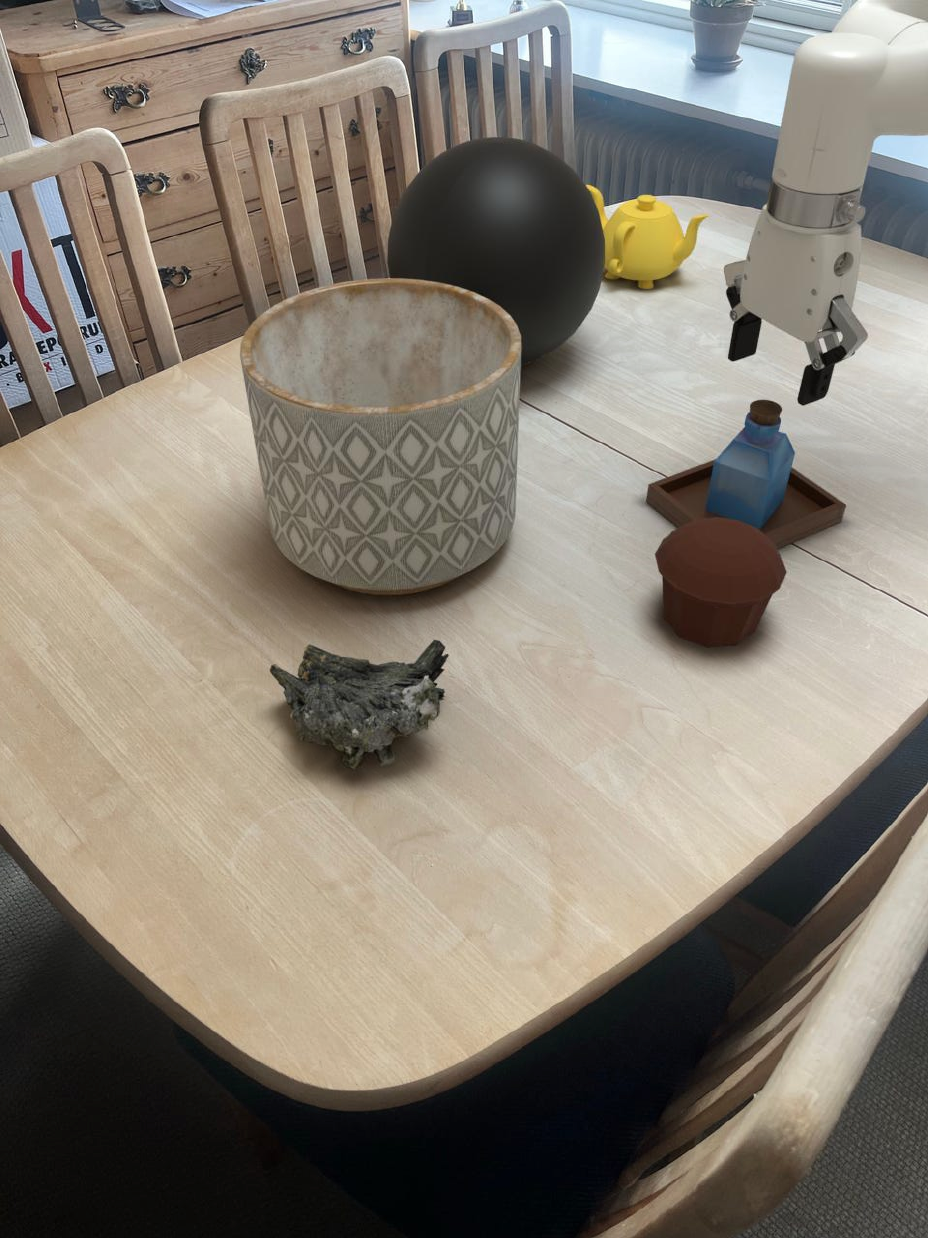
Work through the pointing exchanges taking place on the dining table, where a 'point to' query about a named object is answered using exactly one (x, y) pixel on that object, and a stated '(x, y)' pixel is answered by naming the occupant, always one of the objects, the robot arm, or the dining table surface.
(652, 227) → the teapot
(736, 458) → the perfume bottle
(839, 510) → the tray
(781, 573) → the muffin
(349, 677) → the mineral specimen
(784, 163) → the robot arm
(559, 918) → the dining table surface
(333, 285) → the planter
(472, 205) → the ball
